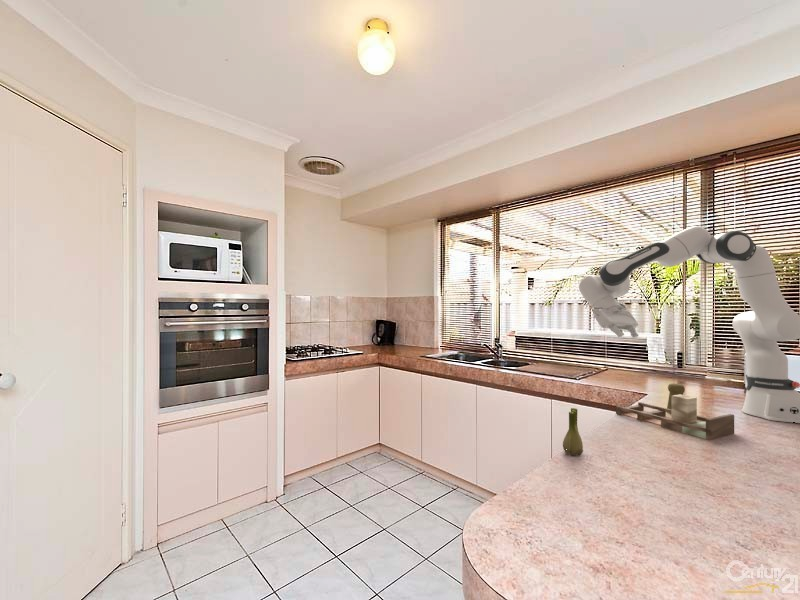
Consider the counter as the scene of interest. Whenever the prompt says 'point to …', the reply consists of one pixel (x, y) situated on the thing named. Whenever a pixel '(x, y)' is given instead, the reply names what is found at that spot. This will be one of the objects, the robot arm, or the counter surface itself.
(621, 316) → the robot arm
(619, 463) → the counter surface
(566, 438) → the fennel bulb
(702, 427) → the trap box
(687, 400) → the birch block
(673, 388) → the cork
